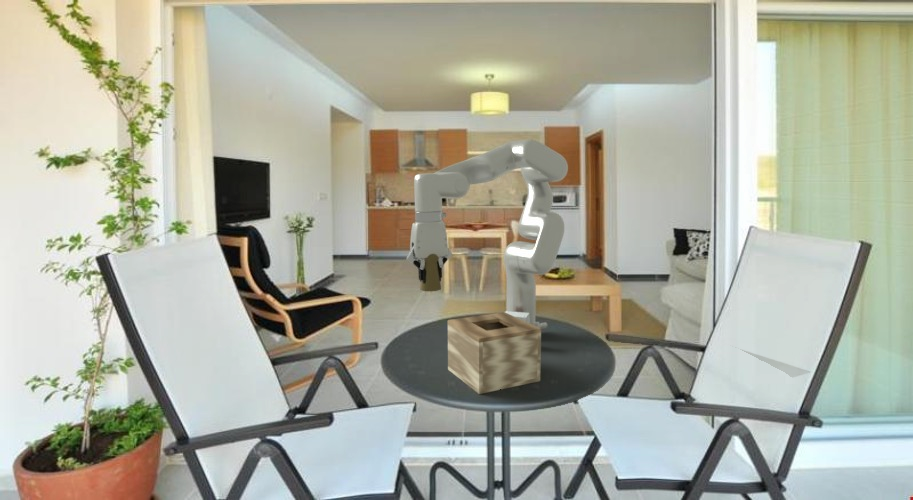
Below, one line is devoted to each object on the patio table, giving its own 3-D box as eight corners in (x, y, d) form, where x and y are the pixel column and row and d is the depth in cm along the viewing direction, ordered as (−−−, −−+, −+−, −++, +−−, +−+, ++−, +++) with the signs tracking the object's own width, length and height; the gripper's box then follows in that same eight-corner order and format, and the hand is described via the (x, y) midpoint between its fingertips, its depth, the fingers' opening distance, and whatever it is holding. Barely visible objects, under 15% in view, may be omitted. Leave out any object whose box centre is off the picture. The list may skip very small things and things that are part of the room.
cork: (438, 291, 142) (437, 252, 140) (417, 291, 143) (416, 252, 141) (443, 286, 147) (442, 249, 146) (423, 286, 149) (422, 249, 147)
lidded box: (504, 359, 147) (504, 312, 145) (540, 380, 131) (541, 328, 129) (448, 369, 139) (447, 320, 137) (479, 394, 123) (479, 338, 121)
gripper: (449, 215, 149) (451, 276, 152) (396, 218, 142) (398, 282, 145) (461, 217, 142) (462, 280, 145) (405, 220, 135) (407, 287, 138)
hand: (430, 281), depth 145 cm, fingers closed on cork, 3 cm apart
